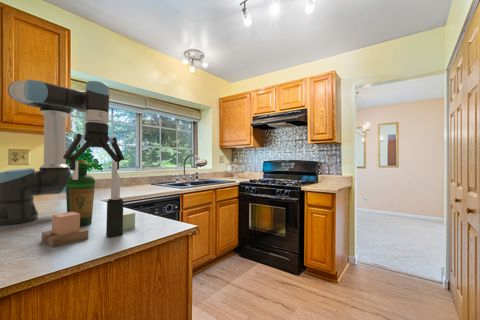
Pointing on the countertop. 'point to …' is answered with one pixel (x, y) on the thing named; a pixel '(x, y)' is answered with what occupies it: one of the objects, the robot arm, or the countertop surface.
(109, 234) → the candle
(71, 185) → the bottle
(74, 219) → the brick
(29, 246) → the countertop surface
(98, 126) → the robot arm
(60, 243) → the base block
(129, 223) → the brick
